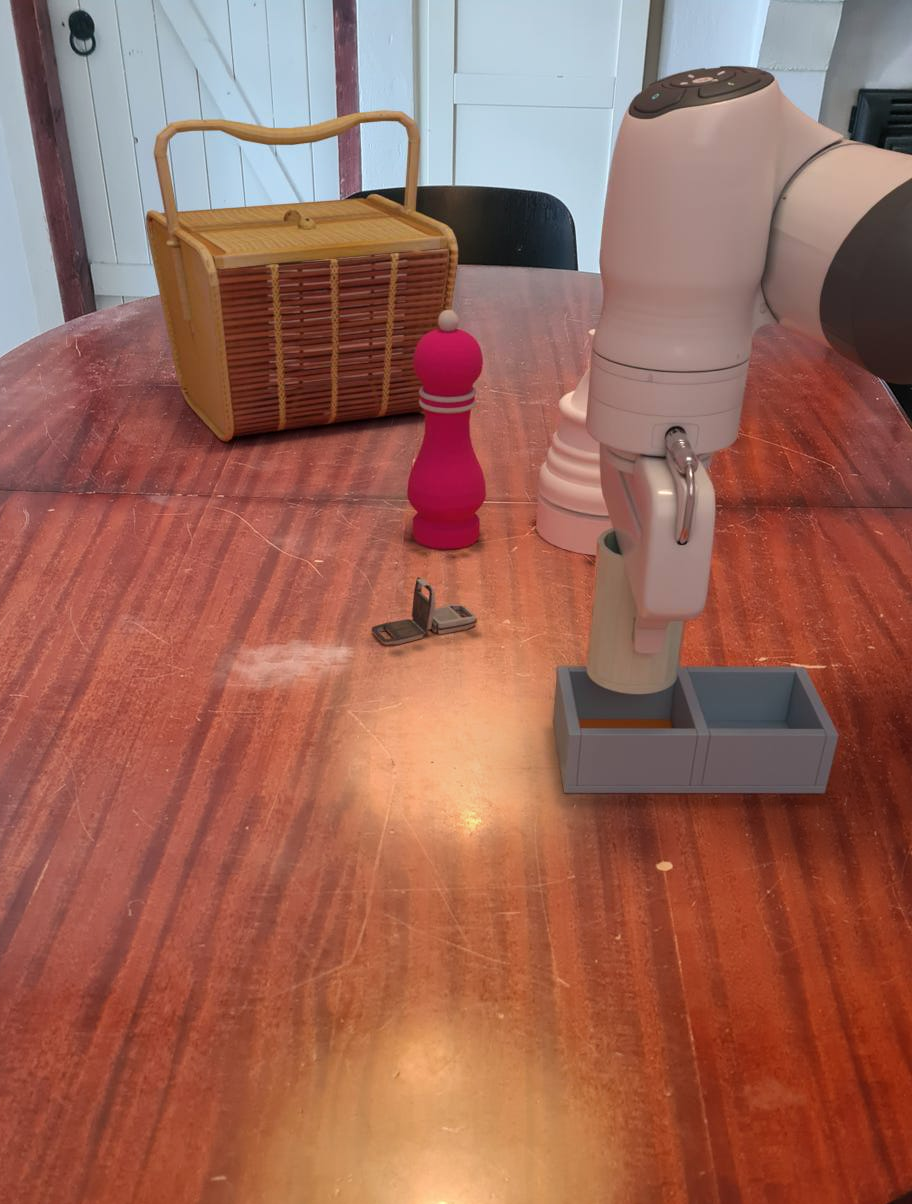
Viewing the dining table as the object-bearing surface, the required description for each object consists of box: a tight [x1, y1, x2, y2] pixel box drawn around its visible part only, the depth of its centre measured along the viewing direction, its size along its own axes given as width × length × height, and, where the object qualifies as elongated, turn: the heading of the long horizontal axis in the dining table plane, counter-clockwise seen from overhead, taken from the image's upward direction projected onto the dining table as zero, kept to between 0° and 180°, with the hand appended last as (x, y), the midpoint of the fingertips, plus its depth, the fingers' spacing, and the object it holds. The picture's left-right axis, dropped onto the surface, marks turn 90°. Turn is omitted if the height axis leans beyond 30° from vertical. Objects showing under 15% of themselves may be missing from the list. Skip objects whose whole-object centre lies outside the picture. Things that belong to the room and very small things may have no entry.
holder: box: [552, 665, 840, 794], centre depth 84 cm, size 17×9×5 cm, turn 90°
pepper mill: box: [406, 309, 487, 550], centre depth 110 cm, size 7×7×20 cm
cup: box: [585, 527, 687, 694], centre depth 79 cm, size 6×6×9 cm
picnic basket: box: [145, 109, 459, 443], centre depth 136 cm, size 29×26×30 cm
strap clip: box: [371, 576, 478, 645], centre depth 99 cm, size 8×3×4 cm, turn 116°
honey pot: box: [535, 328, 613, 557], centre depth 112 cm, size 13×13×18 cm
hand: (638, 621), depth 79 cm, fingers closed on cup, 6 cm apart
